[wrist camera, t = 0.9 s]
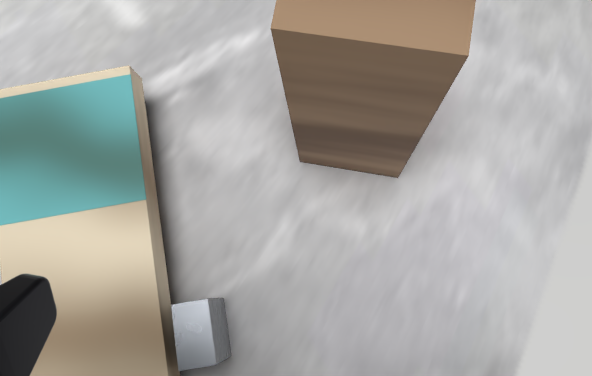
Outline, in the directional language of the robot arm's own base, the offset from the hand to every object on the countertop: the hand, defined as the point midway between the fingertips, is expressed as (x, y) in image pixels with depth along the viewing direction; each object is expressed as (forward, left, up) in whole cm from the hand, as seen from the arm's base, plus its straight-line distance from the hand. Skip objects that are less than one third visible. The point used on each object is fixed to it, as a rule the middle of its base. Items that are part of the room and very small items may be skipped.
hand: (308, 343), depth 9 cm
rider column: (+8, -2, -14) cm, 16 cm away
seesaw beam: (-1, +9, -13) cm, 16 cm away
